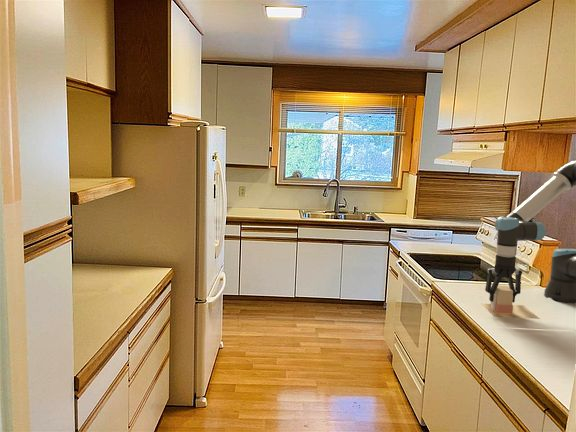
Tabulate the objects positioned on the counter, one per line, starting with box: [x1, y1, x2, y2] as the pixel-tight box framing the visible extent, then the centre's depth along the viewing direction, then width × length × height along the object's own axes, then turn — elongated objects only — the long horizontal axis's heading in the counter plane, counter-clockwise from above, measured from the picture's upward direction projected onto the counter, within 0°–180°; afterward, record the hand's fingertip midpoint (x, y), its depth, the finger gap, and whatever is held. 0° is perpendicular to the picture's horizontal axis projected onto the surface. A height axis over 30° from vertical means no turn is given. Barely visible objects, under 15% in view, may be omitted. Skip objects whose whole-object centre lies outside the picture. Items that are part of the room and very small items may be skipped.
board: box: [481, 303, 541, 320], centre depth 200 cm, size 18×16×1 cm
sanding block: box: [490, 285, 514, 315], centre depth 198 cm, size 6×8×10 cm
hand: (501, 309), depth 199 cm, fingers closed on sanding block, 6 cm apart
